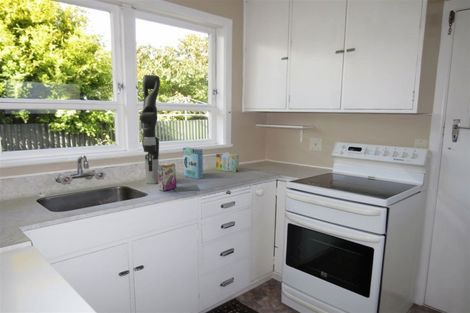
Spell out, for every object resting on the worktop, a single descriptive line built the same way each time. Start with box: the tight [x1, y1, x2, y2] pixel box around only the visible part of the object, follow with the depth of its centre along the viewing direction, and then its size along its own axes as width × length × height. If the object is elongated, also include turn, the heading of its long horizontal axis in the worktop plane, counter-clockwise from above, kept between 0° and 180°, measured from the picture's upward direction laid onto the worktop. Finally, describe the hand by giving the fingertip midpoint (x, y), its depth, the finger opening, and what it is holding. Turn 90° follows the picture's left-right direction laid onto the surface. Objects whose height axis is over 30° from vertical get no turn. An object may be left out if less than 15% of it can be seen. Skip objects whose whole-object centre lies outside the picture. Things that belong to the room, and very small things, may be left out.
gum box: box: [182, 146, 204, 180], centre depth 241 cm, size 20×5×23 cm, turn 45°
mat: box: [173, 184, 201, 193], centre depth 204 cm, size 15×16×1 cm
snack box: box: [215, 152, 240, 173], centre depth 270 cm, size 21×6×15 cm, turn 58°
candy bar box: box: [157, 162, 177, 192], centre depth 200 cm, size 11×5×16 cm, turn 141°
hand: (150, 171), depth 195 cm, fingers closed
